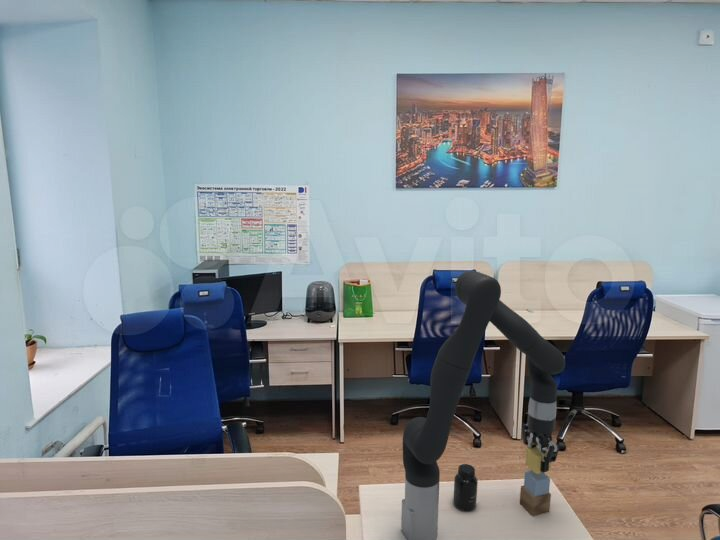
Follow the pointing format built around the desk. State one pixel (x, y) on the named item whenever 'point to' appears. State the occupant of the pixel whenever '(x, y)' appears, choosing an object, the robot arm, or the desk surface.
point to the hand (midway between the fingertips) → (537, 466)
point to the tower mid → (536, 483)
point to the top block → (534, 460)
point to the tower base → (534, 502)
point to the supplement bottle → (465, 488)
